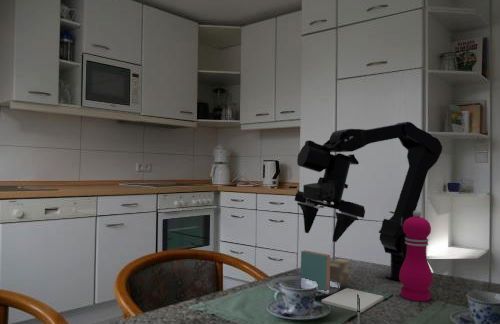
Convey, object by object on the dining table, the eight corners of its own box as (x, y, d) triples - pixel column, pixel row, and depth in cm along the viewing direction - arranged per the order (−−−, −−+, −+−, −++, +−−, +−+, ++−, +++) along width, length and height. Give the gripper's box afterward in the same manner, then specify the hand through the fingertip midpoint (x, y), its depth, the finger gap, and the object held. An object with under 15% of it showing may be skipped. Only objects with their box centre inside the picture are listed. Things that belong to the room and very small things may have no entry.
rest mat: (346, 290, 98) (346, 288, 98) (383, 298, 93) (383, 296, 93) (321, 302, 89) (321, 299, 89) (360, 312, 83) (361, 309, 83)
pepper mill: (417, 304, 90) (419, 212, 90) (391, 294, 96) (393, 208, 96) (439, 299, 93) (441, 211, 93) (413, 290, 99) (415, 208, 100)
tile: (303, 287, 100) (304, 250, 100) (329, 293, 96) (330, 254, 96) (300, 288, 99) (300, 251, 99) (325, 295, 95) (326, 255, 95)
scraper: (332, 276, 112) (332, 257, 112) (356, 280, 107) (357, 261, 107) (314, 283, 104) (314, 263, 104) (339, 288, 100) (339, 268, 100)
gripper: (288, 165, 107) (272, 223, 105) (345, 174, 92) (328, 242, 91) (315, 175, 114) (301, 230, 112) (373, 185, 99) (357, 248, 98)
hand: (319, 237), depth 103 cm, fingers open, 9 cm apart
